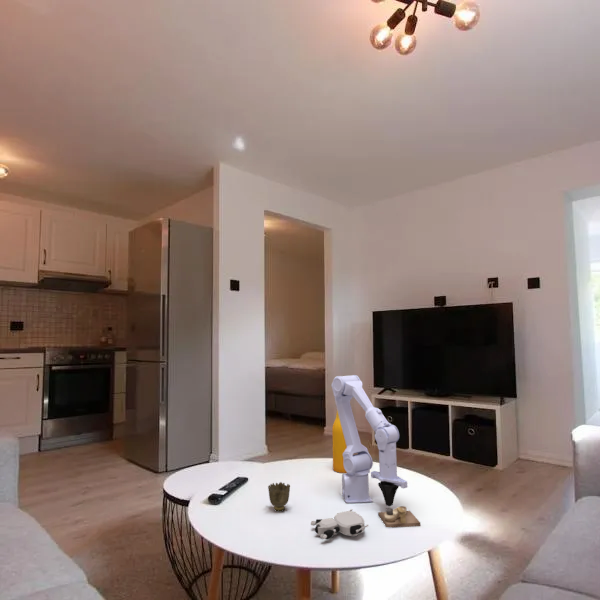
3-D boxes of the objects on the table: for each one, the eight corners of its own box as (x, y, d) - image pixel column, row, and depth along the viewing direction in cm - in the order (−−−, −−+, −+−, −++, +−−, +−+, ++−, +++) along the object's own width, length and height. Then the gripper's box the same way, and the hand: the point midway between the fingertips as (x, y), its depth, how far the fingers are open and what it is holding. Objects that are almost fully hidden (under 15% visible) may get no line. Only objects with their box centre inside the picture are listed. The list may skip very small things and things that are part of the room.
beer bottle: (339, 466, 194) (338, 401, 197) (357, 469, 189) (356, 403, 192) (328, 471, 187) (327, 404, 190) (347, 474, 182) (346, 405, 185)
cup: (294, 509, 144) (294, 485, 145) (279, 516, 139) (279, 490, 139) (279, 504, 149) (279, 480, 150) (263, 510, 144) (263, 485, 144)
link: (391, 522, 130) (391, 517, 130) (382, 519, 132) (382, 514, 132) (409, 513, 137) (409, 507, 137) (400, 510, 139) (400, 505, 139)
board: (386, 527, 129) (386, 512, 129) (378, 515, 138) (377, 501, 139) (420, 526, 130) (419, 511, 130) (409, 513, 139) (409, 499, 140)
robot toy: (322, 550, 118) (371, 538, 122) (321, 533, 118) (370, 522, 122) (309, 531, 129) (354, 521, 134) (308, 516, 130) (353, 506, 134)
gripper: (364, 460, 147) (365, 501, 145) (396, 469, 135) (398, 514, 134) (378, 456, 151) (379, 496, 149) (411, 465, 139) (412, 509, 138)
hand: (389, 504), depth 142 cm, fingers closed
